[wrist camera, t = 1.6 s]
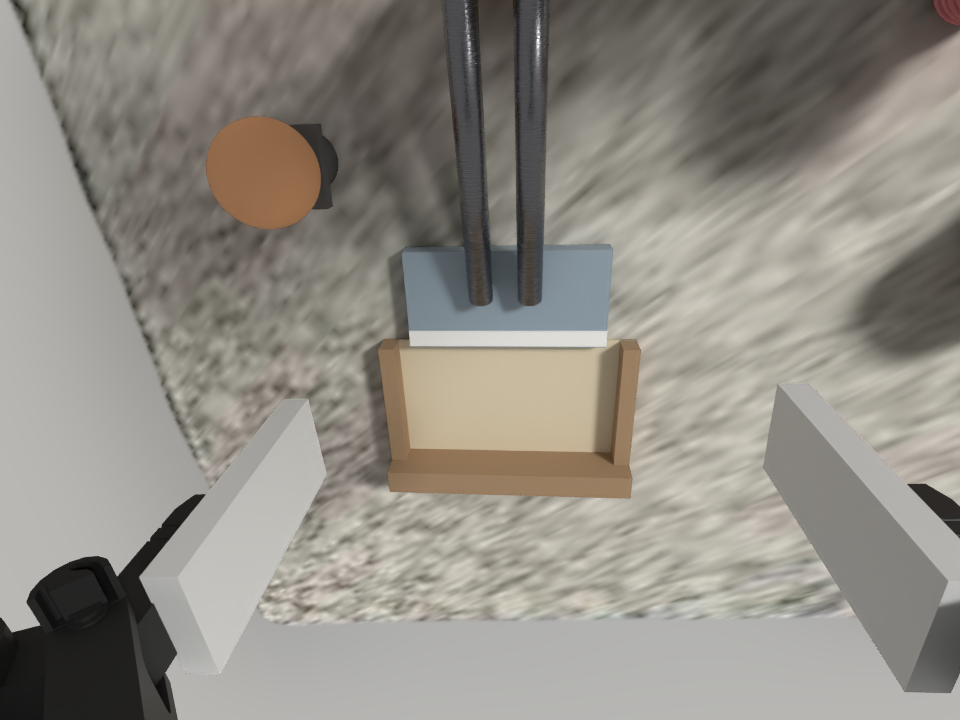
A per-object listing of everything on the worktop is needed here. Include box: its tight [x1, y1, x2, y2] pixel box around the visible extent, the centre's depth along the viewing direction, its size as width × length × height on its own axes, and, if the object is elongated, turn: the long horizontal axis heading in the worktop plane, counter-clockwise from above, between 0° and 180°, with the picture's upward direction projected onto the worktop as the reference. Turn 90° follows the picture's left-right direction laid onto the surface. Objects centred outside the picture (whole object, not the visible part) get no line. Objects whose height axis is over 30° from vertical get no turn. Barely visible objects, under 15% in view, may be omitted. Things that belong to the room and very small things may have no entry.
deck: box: [401, 244, 613, 348], centre depth 33 cm, size 6×12×1 cm, turn 92°
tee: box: [289, 124, 338, 209], centre depth 29 cm, size 4×4×4 cm
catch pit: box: [378, 339, 641, 498], centre depth 35 cm, size 10×16×3 cm, turn 92°
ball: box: [206, 116, 321, 229], centre depth 26 cm, size 5×5×5 cm
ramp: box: [442, 0, 550, 306], centre depth 26 cm, size 18×4×8 cm, turn 2°
